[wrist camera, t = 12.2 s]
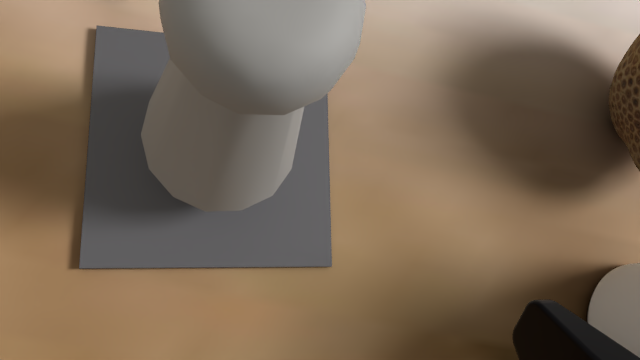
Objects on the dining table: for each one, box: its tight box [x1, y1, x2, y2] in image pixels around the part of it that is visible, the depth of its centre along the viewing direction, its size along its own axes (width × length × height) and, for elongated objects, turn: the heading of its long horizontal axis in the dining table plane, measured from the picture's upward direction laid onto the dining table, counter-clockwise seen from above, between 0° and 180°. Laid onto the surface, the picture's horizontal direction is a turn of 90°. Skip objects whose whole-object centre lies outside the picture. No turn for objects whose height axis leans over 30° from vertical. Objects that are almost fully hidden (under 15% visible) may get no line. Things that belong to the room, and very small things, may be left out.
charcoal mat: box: [79, 26, 332, 269], centre depth 23 cm, size 10×10×1 cm
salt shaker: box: [141, 0, 366, 212], centre depth 16 cm, size 6×6×13 cm
